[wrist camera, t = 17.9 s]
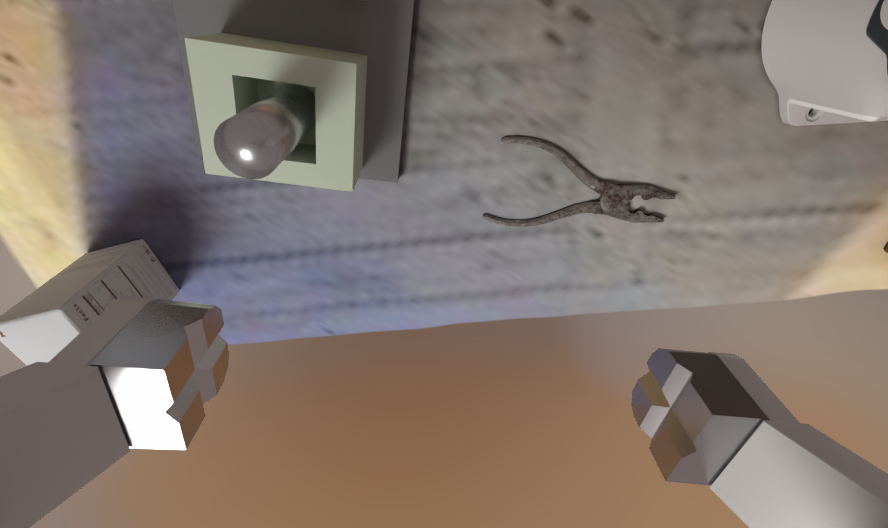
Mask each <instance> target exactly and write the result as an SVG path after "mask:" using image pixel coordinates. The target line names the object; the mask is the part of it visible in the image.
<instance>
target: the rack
mask: <svg viewBox="0 0 888 528" xmlns="http://www.w3.org/2000/svg"><path fill="white" fill-rule="evenodd" d="M185 45H186V51H187V58H188V64H189V70H190V77H191V83H192V90H193V96H194V102H195V109H196V115H197V122H198V128H199V134H200V141H201V147H202V154H203V160H204V167H205V173H206V174H214V175H222V176H230V177H238V178H243V177H240V176H237V175H236V174H234V173H232V172H231V171H229V170H228V169H227V168H226V167H225V166H224V165H223V164H222V162H221V161H220V160H219V158H218V156H217V154H216V152H215V148H214V134H215V131H216V129H217V128H218V126H219V125H220V124H221V123H222V122H223V121H225V120H227V119H229V118H230V117H232V116H234V115H235V114H237V113H239V112H241V111H242V110H244V109H246V108H248V107H249V106H251V105H253V104H255V103H256V102H258V101H260V100H262V99H263V98H265V97H267V96H268V95H270V94H272V93H274V92H275V91H277V90H279V89H281V88H282V87H284V86H286V85H290V84H296V85H301V86H303V87H305V88H307V89H309V90H310V91H311V92H312V93H313V94H314V95H315V115H316V126H315V127H314V128H313V129H312V130H311V131H310V132H309V133H308V135H307V136H306V137H305V138H304V139H303V140H302V141H301V142H300V143H299V144H298V145H297V146H296V147H295V148H294V149H293V150H292V152H291V153H290V154H289V155H288V156H287V157H286V158H285V159H284V160H283V161H282V162H281V163H280V164H279V165H278V166H277V168H276V169H275V170H274V171H273V172H272V173H271V174H269V175H268V176H266V177H264V178H261V179H254V180H262V181H270V182H278V183H286V184H294V185H302V186H310V187H319V188H327V189H335V190H343V191H351V192H352V191H353V189H354V187H355V184H356V182H357V180H358V177H359V175H360V173H361V170H362V166H363V143H364V121H365V98H366V76H367V55H363V54H356V53H350V52H343V51H337V50H330V49H324V48H317V47H311V46H304V45H298V44H291V43H285V42H278V41H272V40H266V39H259V38H253V37H246V36H240V35H233V34H227V33H214V34H207V35H200V36H193V37H186V38H185Z"/></svg>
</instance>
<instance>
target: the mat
mask: <svg viewBox="0 0 888 528" xmlns="http://www.w3.org/2000/svg"><path fill="white" fill-rule="evenodd" d="M172 3H173V9H174V15H175V21H176V27H177V33H178V39H179V46H180V52H181V58H182V64H183V70H184V76H185V82H186V89H187V95H188V101H189V107H190V113H191V119H192V125H193V132H194V138H195V144H196V150H197V156H198V157H201V158H203V154H202V147H201V141H200V134H199V128H198V122H197V115H196V109H195V102H194V96H193V90H192V83H191V77H190V70H189V64H188V58H187V51H186V45H185V38H186V37H193V36H200V35H207V34H214V33H227V34H233V35H240V36H246V37H253V38H259V39H266V40H272V41H278V42H285V43H291V44H298V45H304V46H311V47H317V48H324V49H330V50H337V51H343V52H350V53H356V54H363V55H367V76H366V98H365V121H364V143H363V166H362V170H361V173H360V175H359V177H358V178H366V179H374V180H381V181H389V182H397V183H398V176H399V165H400V154H401V143H402V132H403V121H404V110H405V99H406V88H407V77H408V66H409V55H410V44H411V33H412V22H413V11H414V0H172Z"/></svg>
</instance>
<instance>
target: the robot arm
mask: <svg viewBox="0 0 888 528" xmlns="http://www.w3.org/2000/svg"><path fill="white" fill-rule="evenodd" d="M762 59H763V64H764V67H765V71H766V73H767V75H768V77H769V79H770V81H771V82H772V84H773V85H774V87H775V88H776V90H777V92H778V95H779V110H780V117H781V120H782V121H783V123H785V124H788V125H794V126H804V125H821V124H838V123H855V122H872V121H888V0H772V2H771V5H770V7H769V10H768V13H767V16H766V20H765V24H764V28H763V34H762ZM811 109H812V111H811V112H810V113H809V111H810V110H811ZM808 113H809V114H808ZM223 325H224V321H223V316H222V311H221V309H220V308H218V307H217V306H213V305H205V304H196V303H188V302H179V301H171V300H162V299H150V298H141V297H132V296H125V297H122V298H118V299H116V300H115V301H114V302H113V303H112V304H111V305H110V306H109V307H108V308H107V309H105V310H104V311H103V312H102V313H101V314H100V315H99V316H98V317H97V318H96V319H95V320H94V321H92V322H91V323H90V324H89V325H88V326H87V327H86V328H85V329H84V330H83V331H82V332H81V333H79V334H78V335H77V336H76V337H75V338H74V339H73V340H72V341H71V342H70V343H69V344H68V345H67V346H65V347H64V348H63V349H62V350H61V351H60V352H59V353H58V354H57V355H56V356H55V357H54V358H52V359H51V360H50V361H49V362H35V363H33V364H30V365H28V366H26V367H23V368H21V369H18V370H16V371H14V372H11V373H9V374H6V375H4V376H2V377H0V528H29V527H31V526H32V525H33V524H34V523H36V522H37V521H38V520H40V519H41V518H42V517H44V516H45V515H46V514H48V513H49V512H50V511H52V510H53V509H54V508H56V507H57V506H58V505H60V504H61V503H62V502H63V501H65V500H66V499H68V498H69V497H70V496H71V495H73V494H74V493H75V492H77V491H78V490H79V489H81V488H82V487H83V486H85V485H86V484H87V483H89V482H90V481H91V480H93V479H94V478H95V477H97V476H98V475H99V474H100V473H102V472H103V471H105V470H106V469H107V468H108V467H110V466H111V465H112V464H114V463H115V462H116V461H117V460H119V459H120V458H122V457H123V456H124V455H126V454H127V453H128V452H129V451H130V448H145V449H171V450H172V449H173V450H186V449H187V447H188V446H189V444H190V442H191V440H192V439H193V437H194V435H195V433H196V432H197V430H198V428H199V426H200V424H201V423H202V421H203V419H204V417H205V413H204V408H203V403H205V402H206V401H208V400H210V399H211V398H213V397H214V396H216V395H217V394H218V392H219V390H220V388H221V386H222V384H223V382H224V379H225V375H226V372H227V368H228V360H229V351H228V344H227V342H226V341H225V340H224V339H223V338H222V337H221V336H220V335H219V334H218V333H219V332H220V330H221V328H222V327H223ZM647 365H648V368H649V371H650V372H649V373H647V374H646V375H644V376H643V377H641V378H639V379H638V381H637V383H636V385H635V387H634V389H633V391H632V410H633V414H634V417H635V419H636V421H637V424H638V426H639V428H640V429H642V430H643V431H644V432H645V433H646V434H647V435H649V436H650V437H651V438H652V440H651V444H650V447H649V449H650V450H651V453H652V455H653V457H654V459H655V461H656V463H657V465H658V467H659V469H660V471H661V473H662V475H663V477H664V479H665V481H668V482H679V483H690V484H700V485H711V486H710V489H711V490H712V491H713V492H714V493H715V494H716V495H717V496H718V497H719V498H720V499H721V500H722V501H723V502H724V503H725V504H726V505H727V506H728V507H729V508H730V509H731V510H732V511H733V512H734V513H735V514H736V515H737V516H738V517H739V518H740V519H741V520H742V521H743V522H744V523H745V524H746V525H747V526H748V527H749V528H888V474H887V473H885V472H884V471H882V470H881V469H879V468H877V467H876V466H874V465H873V464H871V463H869V462H868V461H866V460H865V459H863V458H861V457H860V456H858V455H857V454H855V453H853V452H852V451H850V450H849V449H847V448H846V447H844V446H842V445H840V444H839V443H838V442H836V441H834V440H833V439H831V438H829V437H828V436H826V435H825V434H823V433H821V432H820V431H818V430H817V429H815V428H814V427H812V426H810V425H809V424H802V423H799V422H798V420H797V419H796V418H795V417H794V416H793V415H792V414H791V412H790V411H789V410H788V409H787V408H786V407H785V406H784V405H783V403H782V402H781V401H780V400H779V399H778V398H777V397H776V395H775V394H774V393H773V392H772V391H771V390H770V389H769V388H768V386H767V385H766V384H765V383H764V382H763V381H762V380H761V378H760V377H759V376H758V375H757V374H756V373H755V372H754V371H753V369H752V368H751V367H750V366H749V365H748V364H747V363H746V362H745V360H744V359H742V358H740V357H739V356H737V355H735V354H726V353H713V352H709V353H705V352H694V351H683V350H682V351H681V350H672V349H661V348H659V349H658V350H656V351H655V352H654V353H652V355H651V356H650V358H649V360H648V362H647Z"/></svg>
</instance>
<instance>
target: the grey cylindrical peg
mask: <svg viewBox="0 0 888 528" xmlns="http://www.w3.org/2000/svg"><path fill="white" fill-rule="evenodd" d="M315 126H316V115H315V95H314V94H313V93H312V92H311V91H310V90H309V89H307V88H305V87H303V86H301V85H296V84H290V85H286V86H284V87H282V88H281V89H279V90H277V91H275V92H274V93H272V94H270V95H268V96H267V97H265V98H263V99H262V100H260V101H258V102H256V103H255V104H253V105H251V106H249V107H248V108H246V109H244V110H242V111H241V112H239V113H237V114H235V115H234V116H232V117H230V118H229V119H227V120H225V121H223V122H222V123H221V124H220V125H219V126H218V128H217V129H216V131H215V134H214V148H215V152H216V154H217V156H218V158H219V160H220V161H221V162H222V164H223V165H224V166H225V167H226V168H227V169H228V170H229V171H231V172H232V173H234V174H236V175H237V176H240V177H243V178H246V179H261V178H264V177H266V176H268V175H269V174H271V173H272V172H273V171H274V170H275V169H276V168H277V166H278V165H279V164H280V163H281V162H282V161H283V160H284V159H285V158H286V157H287V156H288V155H289V154H290V153H291V152H292V150H293V149H294V148H295V147H296V146H297V145H298V144H299V143H300V142H301V141H302V140H303V139H304V138H305V137H306V136H307V135H308V133H309V132H310V131H311V130H312V129H313V128H314V127H315Z"/></svg>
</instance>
